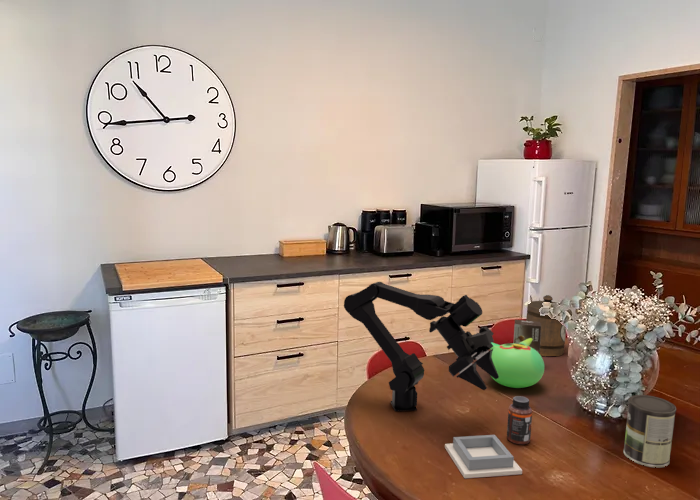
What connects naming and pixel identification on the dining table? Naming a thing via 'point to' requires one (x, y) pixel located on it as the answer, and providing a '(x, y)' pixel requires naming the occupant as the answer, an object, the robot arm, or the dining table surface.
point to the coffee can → (649, 430)
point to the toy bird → (517, 364)
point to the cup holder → (482, 457)
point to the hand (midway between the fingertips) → (491, 383)
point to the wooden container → (547, 329)
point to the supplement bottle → (519, 421)
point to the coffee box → (528, 333)
